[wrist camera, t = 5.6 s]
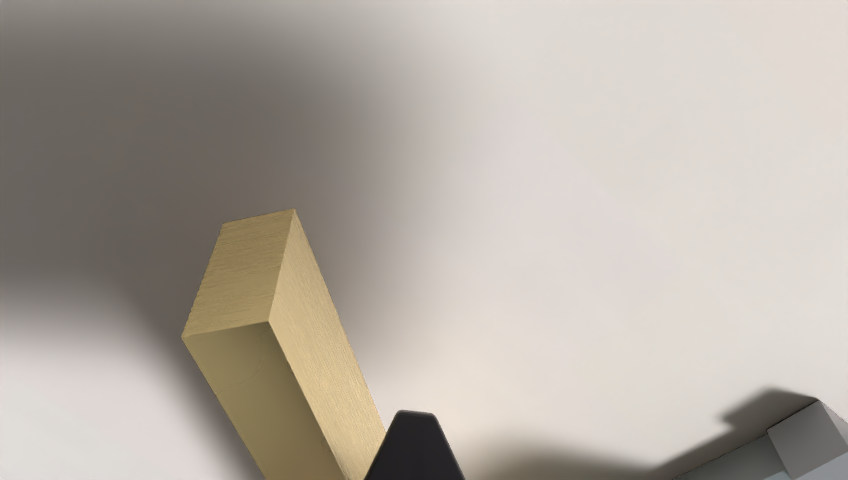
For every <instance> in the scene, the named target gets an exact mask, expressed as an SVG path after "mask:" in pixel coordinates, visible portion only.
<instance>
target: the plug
mask: <svg viewBox="0 0 848 480" xmlns="http://www.w3.org/2000/svg"><path fill="white" fill-rule="evenodd" d="M673 480H792V479H791V477H790V475H789V473H788V471H787V469H786V468H785V466H784V464H783V462H782V460H781V458H780V456H779V454H778V452H777V450H776V448H775V446H774V444H773V442H772V440H771V439H770V437H769V435H768V434H767V435H765V436H763V437H761V438H759V439H756V440H754V441H752V442H750V443H748V444H746V445H744V446H742V447H740V448H738V449H736V450H733V451H731V452H729V453H727V454H725V455H723V456H721V457H719V458H717V459H715V460H713V461H710V462H708V463H706V464H704V465H702V466H700V467H698V468H696V469H694V470H692V471H689V472H687V473H685V474H683V475H681V476H679V477H677V478H675V479H673Z"/></svg>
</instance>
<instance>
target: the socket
mask: <svg viewBox="0 0 848 480" xmlns="http://www.w3.org/2000/svg"><path fill="white" fill-rule="evenodd" d="M766 431H767V433H768V435H769V437H770V439H771V440H772V442H773V444H774V446H775V448H776V450H777V452H778V454H779V456H780V458H781V460H782V462H783V464H784V466H785V468H786V469H787V471H788V473H789V475H790V477H791V479H792V480H848V424H847V423H846V422H845V421H844V420H843V419H841V418H840V417H839V416H838V415H837V414H835V413H834V412H833V411H832V410H831V409H830V408H828V407H827V406H826V405H825V404H824V403H822V402H821V401H820V400H818V401H817V402H815V403H813V404H811V405H810V406H808V407H806V408H804V409H803V410H801V411H799V412H797V413H796V414H794V415H792V416H790V417H789V418H787V419H785V420H783V421H782V422H780V423H778V424H776V425H775V426H773V427H771V428H769V429H768V430H766Z"/></svg>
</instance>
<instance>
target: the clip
mask: <svg viewBox="0 0 848 480" xmlns="http://www.w3.org/2000/svg"><path fill="white" fill-rule="evenodd" d="M181 339H182V340H183V342H184V344H185V345H186V347H187V349H188V350H189V352H190V354H191V355H192V357H193V359H194V360H195V362H196V364H197V365H198V367H199V369H200V370H201V372H202V374H203V375H204V377H205V379H206V380H207V382H208V384H209V386H210V387H211V389H212V391H213V392H214V394H215V396H216V397H217V399H218V401H219V402H220V404H221V406H222V407H223V409H224V411H225V412H226V414H227V416H228V417H229V419H230V421H231V422H232V424H233V426H234V427H235V429H236V431H237V432H238V434H239V436H240V437H241V439H242V441H243V442H244V444H245V446H246V447H247V449H248V451H249V452H250V454H251V456H252V457H253V459H254V461H255V462H256V464H257V466H258V467H259V469H260V471H261V472H262V474H263V476H264V477H265V479H266V480H364V478H365V476H366V474H367V471H368V469H369V467H370V465H371V463H372V461H373V459H374V457H375V455H376V453H377V451H378V449H379V447H380V445H381V443H382V441H383V439H384V437H385V435H386V432H385V429H384V427H383V425H382V422H381V420H380V417H379V415H378V412H377V410H376V407H375V405H374V402H373V400H372V397H371V395H370V393H369V390H368V388H367V385H366V383H365V380H364V378H363V375H362V373H361V370H360V368H359V365H358V363H357V361H356V358H355V356H354V353H353V351H352V348H351V346H350V343H349V341H348V338H347V336H346V333H345V331H344V329H343V326H342V324H341V321H340V319H339V316H338V314H337V311H336V309H335V306H334V304H333V301H332V299H331V297H330V294H329V292H328V289H327V287H326V284H325V282H324V279H323V277H322V274H321V272H320V269H319V267H318V265H317V262H316V260H315V257H314V255H313V252H312V250H311V247H310V245H309V242H308V240H307V237H306V235H305V233H304V230H303V228H302V225H301V223H300V220H299V218H298V215H297V213H296V210H295V208H293V209H288V210H284V211H279V212H274V213H269V214H264V215H260V216H255V217H250V218H245V219H241V220H236V221H231V222H226V223H223V226H222V228H221V231H220V234H219V236H218V239H217V242H216V244H215V247H214V250H213V253H212V255H211V258H210V261H209V263H208V266H207V269H206V271H205V274H204V277H203V279H202V282H201V285H200V288H199V290H198V293H197V296H196V298H195V301H194V304H193V306H192V309H191V312H190V314H189V317H188V320H187V323H186V325H185V328H184V331H183V333H182V336H181Z"/></svg>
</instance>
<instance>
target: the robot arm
mask: <svg viewBox="0 0 848 480" xmlns="http://www.w3.org/2000/svg"><path fill="white" fill-rule="evenodd" d="M364 480H465V478H464V475H463V473H462V471H461V469H460V467H459V465H458V463H457V460H456V458H455V456H454V454H453V452H452V450H451V448H450V445H449V443H448V441H447V439H446V437H445V435H444V433H443V430H442V428H441V426H440V424H439V422H438V420H437V418H436V417H435V415H433V414H432V413H426V412H417V411H408V410H400V411H398V412H397V413H396V415H395V417H394V419H393V421H392V423H391V425H390V427H389V429H388V431H387V433H386V435H385V437H384V439H383V441H382V443H381V445H380V447H379V449H378V451H377V453H376V455H375V457H374V459H373V461H372V463H371V465H370V467H369V469H368V471H367V474H366V476H365V478H364Z"/></svg>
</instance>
